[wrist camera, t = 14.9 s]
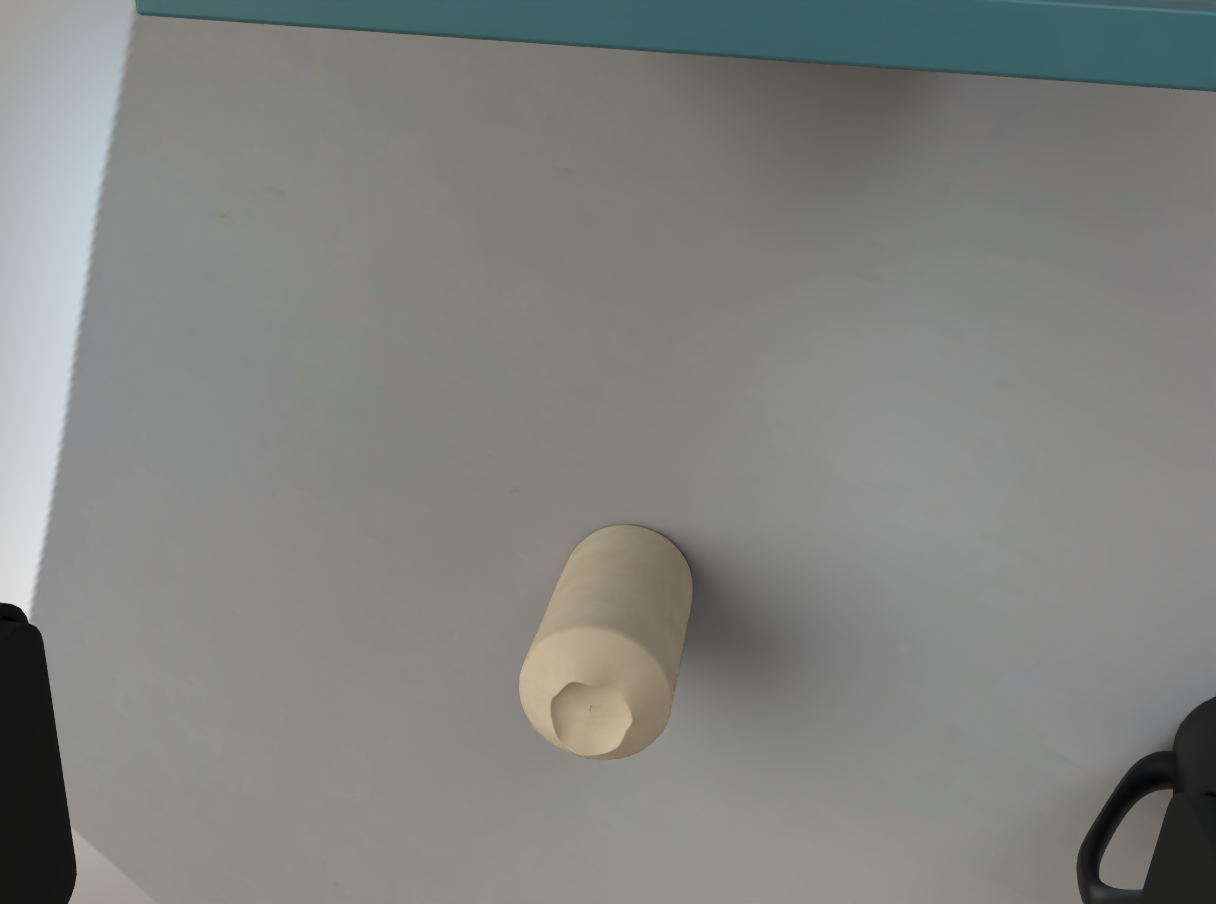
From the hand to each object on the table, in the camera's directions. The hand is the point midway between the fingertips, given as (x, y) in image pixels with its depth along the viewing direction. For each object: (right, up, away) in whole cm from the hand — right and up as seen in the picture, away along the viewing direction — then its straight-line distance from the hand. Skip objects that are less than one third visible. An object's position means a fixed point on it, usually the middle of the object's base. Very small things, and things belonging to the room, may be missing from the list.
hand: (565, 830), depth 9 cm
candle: (+1, -2, +39) cm, 39 cm away
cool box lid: (+3, +12, +11) cm, 16 cm away
